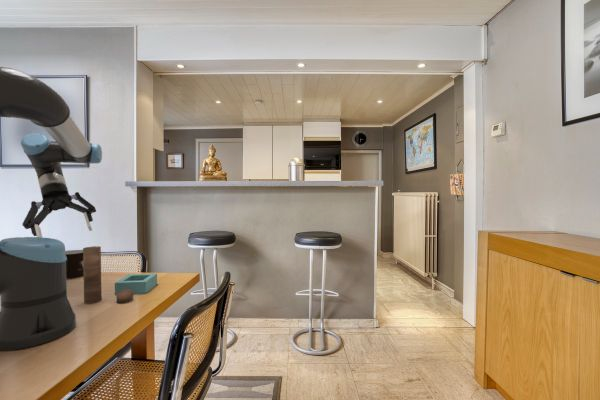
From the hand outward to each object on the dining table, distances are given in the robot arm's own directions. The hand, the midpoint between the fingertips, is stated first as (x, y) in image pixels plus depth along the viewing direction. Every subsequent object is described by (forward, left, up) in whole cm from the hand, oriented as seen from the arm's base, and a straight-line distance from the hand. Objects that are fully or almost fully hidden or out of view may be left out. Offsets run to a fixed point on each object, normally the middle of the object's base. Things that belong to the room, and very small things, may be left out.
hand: (66, 235), depth 97 cm
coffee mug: (+18, +10, -20) cm, 29 cm away
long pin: (-10, -14, -20) cm, 26 cm away
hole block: (0, -23, -20) cm, 30 cm away
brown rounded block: (-11, -24, -20) cm, 33 cm away
